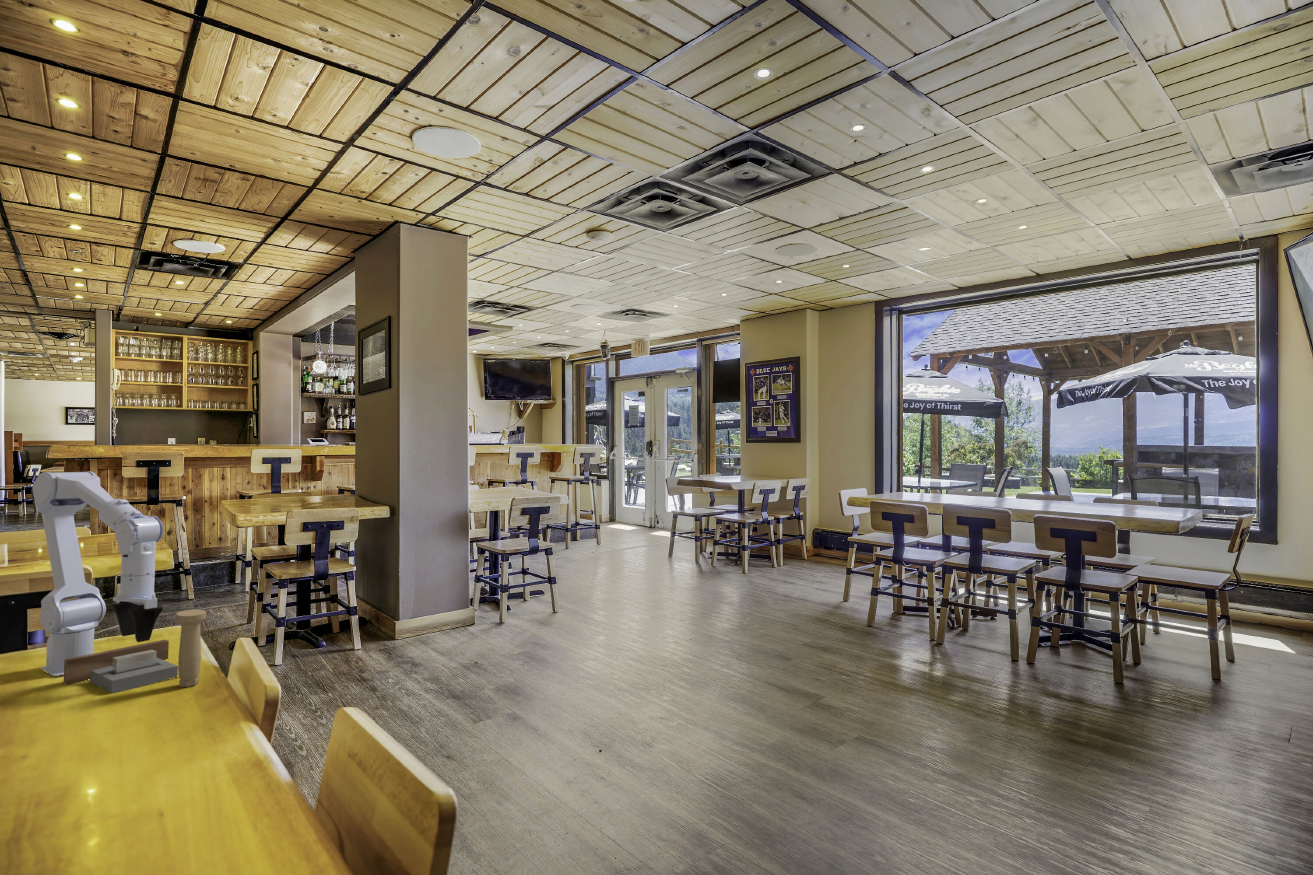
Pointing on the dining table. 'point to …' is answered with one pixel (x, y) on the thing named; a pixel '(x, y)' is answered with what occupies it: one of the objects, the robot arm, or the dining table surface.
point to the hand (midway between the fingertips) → (135, 637)
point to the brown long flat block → (106, 660)
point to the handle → (190, 646)
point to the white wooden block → (133, 662)
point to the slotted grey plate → (132, 676)
